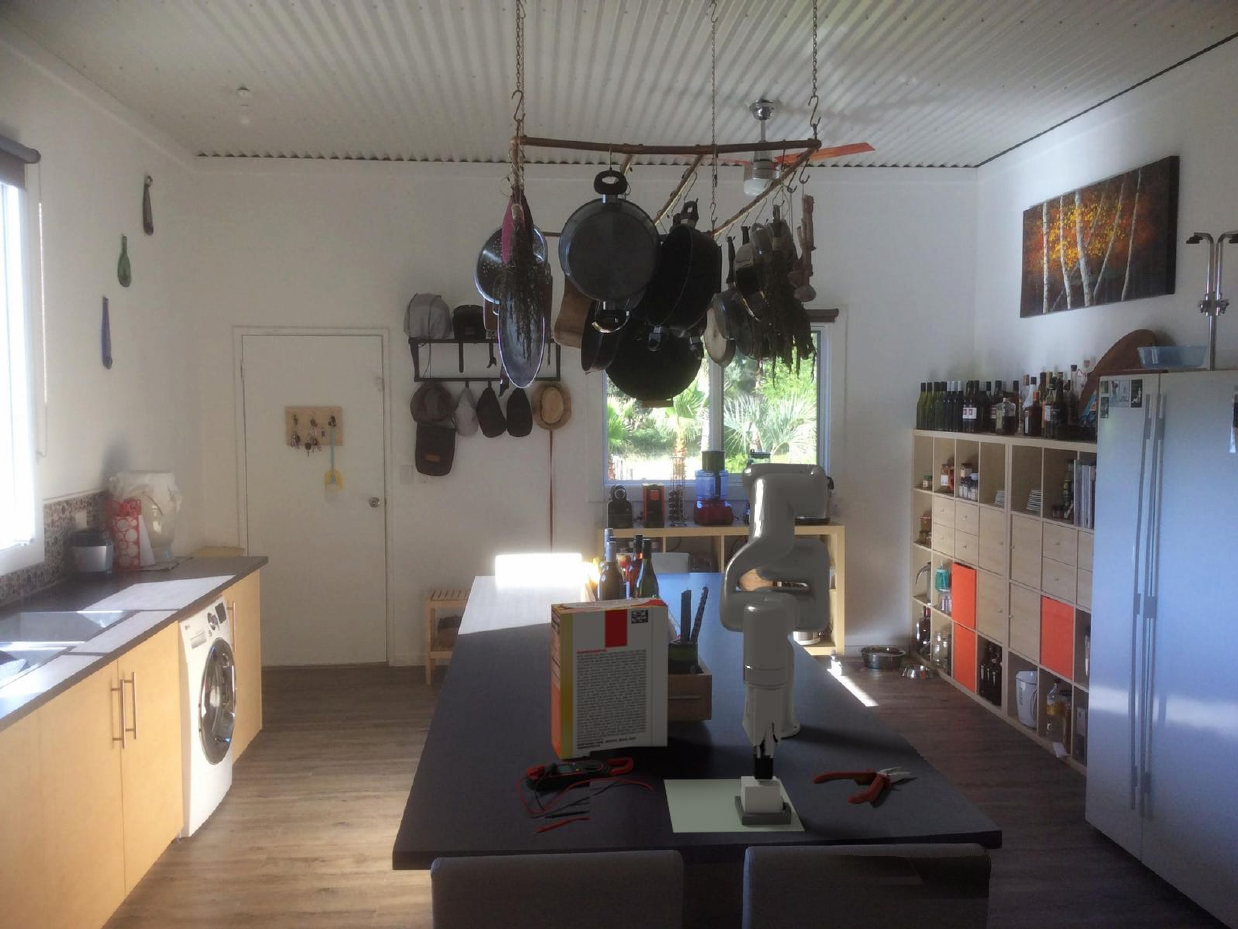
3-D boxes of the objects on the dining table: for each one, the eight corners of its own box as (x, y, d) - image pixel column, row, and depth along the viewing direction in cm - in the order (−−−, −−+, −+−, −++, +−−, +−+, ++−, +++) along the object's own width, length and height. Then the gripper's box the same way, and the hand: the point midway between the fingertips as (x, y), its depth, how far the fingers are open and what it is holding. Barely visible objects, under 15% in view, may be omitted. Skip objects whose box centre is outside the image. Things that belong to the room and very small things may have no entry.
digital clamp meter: (506, 757, 171) (630, 743, 178) (506, 780, 171) (630, 765, 178) (528, 812, 149) (669, 793, 156) (529, 838, 149) (669, 818, 156)
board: (663, 785, 168) (663, 776, 168) (779, 783, 169) (779, 775, 169) (673, 838, 148) (673, 828, 148) (804, 836, 149) (804, 827, 149)
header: (734, 804, 158) (734, 796, 158) (784, 803, 158) (785, 795, 158) (741, 825, 151) (741, 816, 150) (794, 824, 151) (794, 816, 151)
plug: (740, 809, 156) (741, 776, 156) (779, 809, 156) (779, 776, 156) (744, 820, 152) (745, 786, 152) (784, 820, 152) (784, 786, 152)
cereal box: (654, 732, 194) (655, 597, 191) (667, 746, 186) (668, 605, 184) (551, 744, 187) (551, 604, 185) (560, 759, 179) (560, 613, 177)
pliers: (930, 787, 168) (931, 774, 168) (853, 813, 158) (853, 799, 158) (884, 766, 178) (885, 753, 178) (808, 788, 168) (809, 775, 168)
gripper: (735, 661, 160) (734, 760, 161) (750, 688, 145) (748, 797, 146) (777, 661, 160) (775, 760, 161) (796, 688, 145) (794, 797, 146)
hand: (762, 777), depth 154 cm, fingers closed
